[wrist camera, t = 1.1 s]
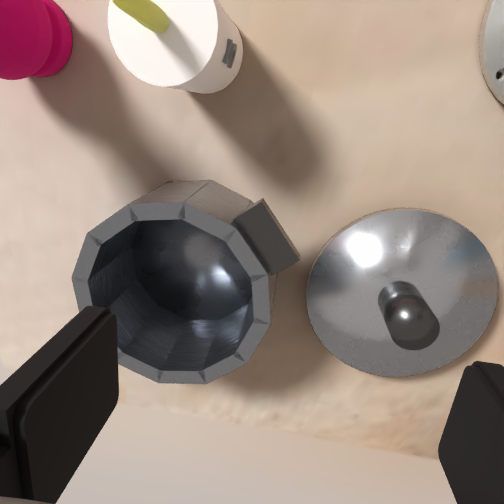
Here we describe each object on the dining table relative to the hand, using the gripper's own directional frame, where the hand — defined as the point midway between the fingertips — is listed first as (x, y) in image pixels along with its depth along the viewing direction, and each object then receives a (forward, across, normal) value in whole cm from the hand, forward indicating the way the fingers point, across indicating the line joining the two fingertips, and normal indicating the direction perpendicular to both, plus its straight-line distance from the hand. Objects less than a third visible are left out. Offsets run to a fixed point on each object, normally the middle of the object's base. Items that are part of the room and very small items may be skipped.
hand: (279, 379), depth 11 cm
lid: (+26, -10, +8) cm, 29 cm away
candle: (+26, +8, -10) cm, 29 cm away
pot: (+26, +8, +7) cm, 28 cm away
